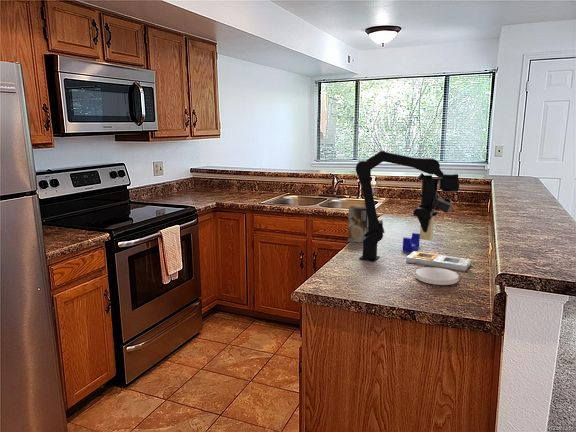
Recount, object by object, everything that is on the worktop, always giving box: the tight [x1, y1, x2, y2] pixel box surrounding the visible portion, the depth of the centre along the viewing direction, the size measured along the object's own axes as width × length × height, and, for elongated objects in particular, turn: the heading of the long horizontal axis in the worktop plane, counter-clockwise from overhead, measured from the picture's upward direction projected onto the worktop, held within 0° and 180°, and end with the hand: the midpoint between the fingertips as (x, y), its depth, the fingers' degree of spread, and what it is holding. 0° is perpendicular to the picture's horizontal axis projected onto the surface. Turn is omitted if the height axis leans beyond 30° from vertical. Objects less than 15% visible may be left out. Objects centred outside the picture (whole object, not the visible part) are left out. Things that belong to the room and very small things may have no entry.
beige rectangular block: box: [419, 216, 435, 241], centre depth 168 cm, size 4×4×9 cm
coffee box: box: [347, 205, 368, 244], centre depth 201 cm, size 9×6×16 cm
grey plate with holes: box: [405, 250, 472, 272], centre depth 168 cm, size 10×22×2 cm, turn 58°
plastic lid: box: [414, 266, 459, 286], centre depth 149 cm, size 14×14×2 cm
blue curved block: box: [402, 232, 421, 254], centre depth 188 cm, size 12×4×6 cm, turn 144°
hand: (426, 231), depth 168 cm, fingers closed on beige rectangular block, 4 cm apart
